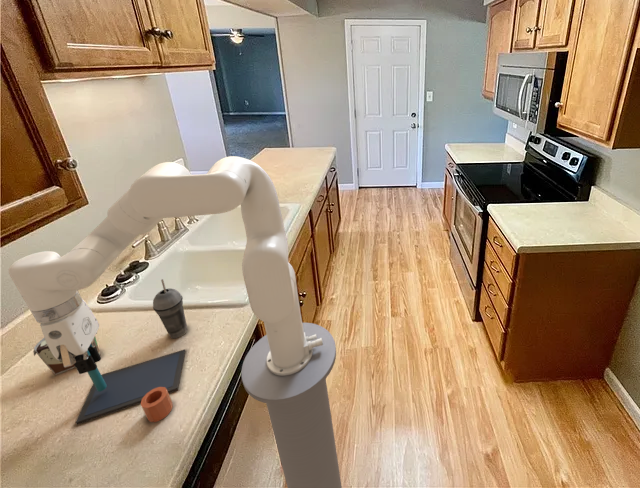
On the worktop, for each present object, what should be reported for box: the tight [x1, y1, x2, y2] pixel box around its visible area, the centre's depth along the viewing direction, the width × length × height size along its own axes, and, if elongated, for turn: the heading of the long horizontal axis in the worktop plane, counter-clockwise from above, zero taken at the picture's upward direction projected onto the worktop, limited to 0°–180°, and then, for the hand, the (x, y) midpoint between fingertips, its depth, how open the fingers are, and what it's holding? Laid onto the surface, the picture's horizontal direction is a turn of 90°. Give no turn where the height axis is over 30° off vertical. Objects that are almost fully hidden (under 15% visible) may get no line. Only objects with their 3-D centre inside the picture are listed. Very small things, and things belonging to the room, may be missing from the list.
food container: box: [32, 332, 101, 376], centre depth 90 cm, size 12×6×10 cm, turn 125°
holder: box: [140, 387, 174, 423], centre depth 77 cm, size 5×5×5 cm
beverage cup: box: [152, 278, 188, 339], centre depth 97 cm, size 7×7×20 cm
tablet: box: [75, 349, 187, 425], centre depth 84 cm, size 20×13×1 cm, turn 114°
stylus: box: [80, 349, 107, 392], centre depth 79 cm, size 2×2×13 cm
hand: (90, 366), depth 78 cm, fingers closed on stylus, 1 cm apart
